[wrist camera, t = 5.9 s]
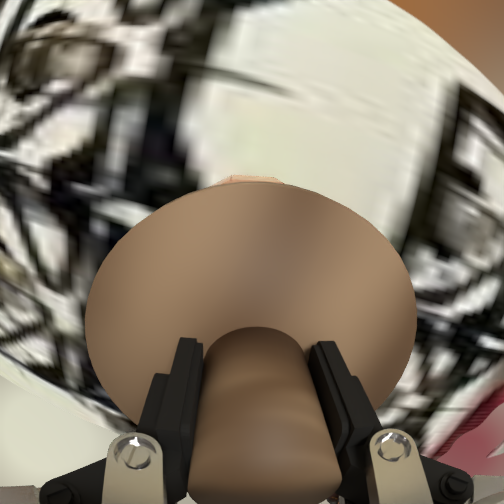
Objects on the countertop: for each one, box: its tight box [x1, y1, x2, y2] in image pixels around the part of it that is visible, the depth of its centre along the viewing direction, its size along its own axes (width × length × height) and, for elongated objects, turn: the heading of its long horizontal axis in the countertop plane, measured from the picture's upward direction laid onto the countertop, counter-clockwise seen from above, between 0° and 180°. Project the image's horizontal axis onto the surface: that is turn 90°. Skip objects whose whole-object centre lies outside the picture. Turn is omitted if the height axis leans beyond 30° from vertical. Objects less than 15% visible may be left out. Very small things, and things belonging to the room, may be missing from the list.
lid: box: [85, 182, 417, 504], centre depth 8 cm, size 12×12×6 cm
